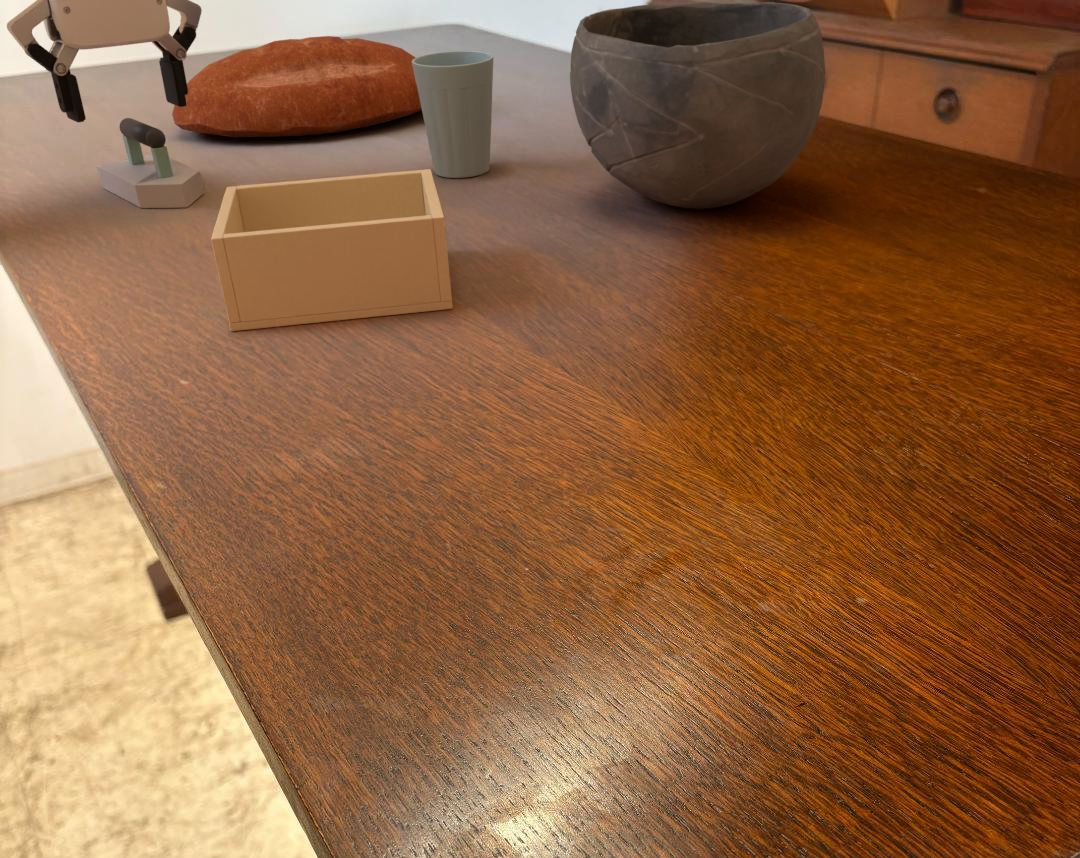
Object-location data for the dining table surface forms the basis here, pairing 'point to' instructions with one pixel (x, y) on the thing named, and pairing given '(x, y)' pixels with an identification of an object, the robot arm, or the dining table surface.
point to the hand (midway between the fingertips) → (128, 111)
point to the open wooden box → (331, 249)
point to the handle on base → (150, 171)
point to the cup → (456, 110)
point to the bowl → (698, 96)
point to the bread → (301, 89)
